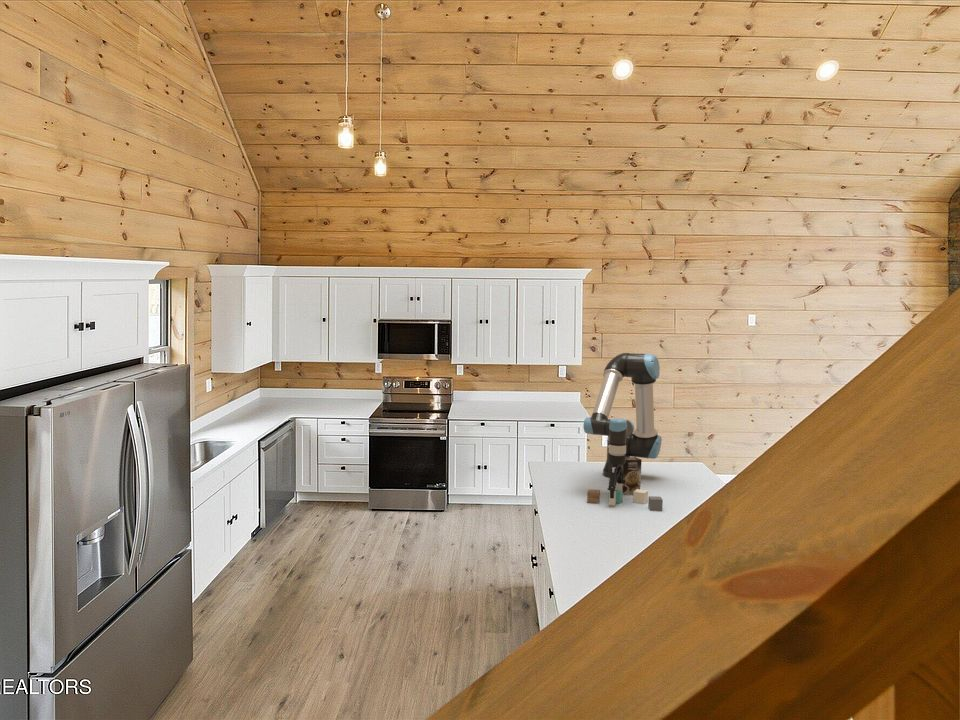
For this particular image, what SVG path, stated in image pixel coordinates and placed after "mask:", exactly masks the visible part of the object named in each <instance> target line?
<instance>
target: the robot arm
mask: <svg viewBox="0 0 960 720" xmlns="http://www.w3.org/2000/svg"><path fill="white" fill-rule="evenodd" d="M660 370H661V369H660V362H659V358H658V357H657V356H656V355H655V354H649V353H634V352H631V353H630V352H623V353H619V354H617V355H616V356H614V357H612V358H611V360H610V361H608V363H607V364H606V366H605V367H604V370H603V373H602V376H603V380H602V382H601V386H600V389H599V391H598V395H597V398H596V401H595V405H594V408H593V411H592V413H591V417H589V416H588V417H585V418H584V421H583V425H582V426H583V428H582V429H583V431H584V433H585V434H587V435H588V434H589V435H592V436H593V435H596V436H607V438H606V439H607V440H606V442H607V443H606V461H605V464H604V466H603V469H602V476H604V477H607V478H609V479H608V481H609V482H608V486H607V487H608V488H607V491H608V505H609V506H614V507H615V506H616V504H615V501H616V491H615V490H622V484H624V479H623V464H625V462H626V457H636V458H640V459H643V458H644V459H651V460H652V459H654V460H655V459H657V458H658V457H659V454H660V452H661V447H662V439H663V438H662V436H661V435H658V434H659V432H658V430H657V429H656V428H655V411H654V406H655V405H654V384H656V382H657V380H658V379H659V378H660ZM624 378H631V383H632V384H633V385H634V395H635V396H634V397H635V423H636V424H635V425H636V429H635V425H634V423H633V421H632V420H630V419H624V418H619V417H618V418H611V419H609V416H610V413H611V411H612V406H613V404H614V400H615V397H616V394H617V391H618V387H619V385H620V383H621V382H622V381H623V379H624ZM621 483H622V484H621Z"/></svg>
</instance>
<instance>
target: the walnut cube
mask: <svg viewBox="0 0 960 720" xmlns="http://www.w3.org/2000/svg"><path fill="white" fill-rule="evenodd" d="M600 491H601V490H600V489H592V488H589V489H587V493H586V494H587V495H586V496H587V500H586V503H587V504H596V505H597V504H600V499H601V498H600V493H601V492H600Z"/></svg>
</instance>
